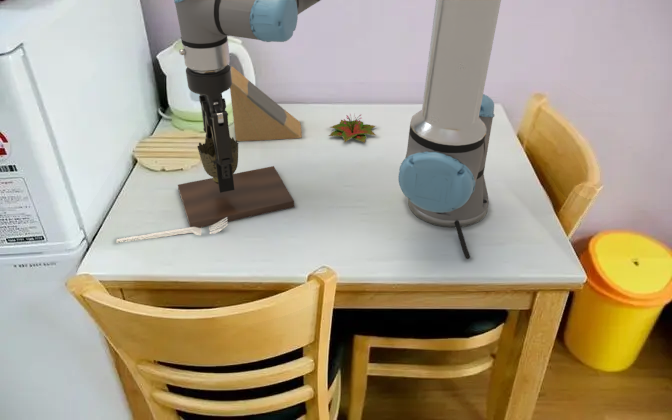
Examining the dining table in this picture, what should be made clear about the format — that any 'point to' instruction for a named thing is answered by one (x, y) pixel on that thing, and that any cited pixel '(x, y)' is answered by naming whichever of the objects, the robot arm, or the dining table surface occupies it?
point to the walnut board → (235, 197)
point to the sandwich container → (259, 113)
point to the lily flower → (352, 130)
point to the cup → (209, 156)
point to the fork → (177, 232)
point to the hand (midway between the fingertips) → (222, 179)
